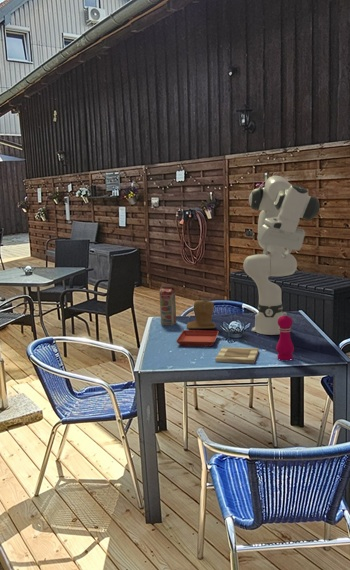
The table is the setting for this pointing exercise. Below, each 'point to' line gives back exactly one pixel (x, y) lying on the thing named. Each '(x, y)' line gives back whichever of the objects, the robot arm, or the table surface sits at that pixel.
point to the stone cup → (202, 315)
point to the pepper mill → (285, 338)
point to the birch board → (237, 355)
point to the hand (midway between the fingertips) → (274, 256)
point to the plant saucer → (197, 338)
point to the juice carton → (167, 304)
